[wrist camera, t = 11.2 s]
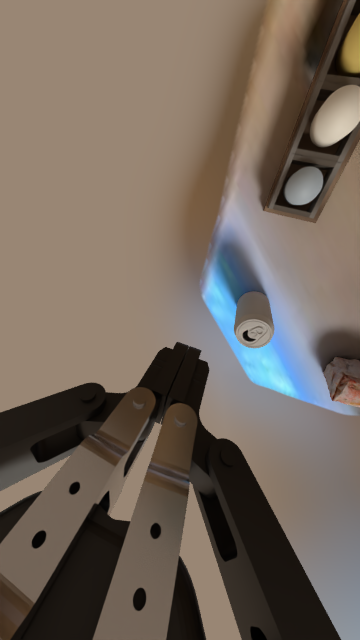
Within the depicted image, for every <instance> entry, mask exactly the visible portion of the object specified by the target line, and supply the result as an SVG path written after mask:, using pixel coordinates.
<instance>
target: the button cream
mask: <svg viewBox="0 0 360 640" xmlns="http://www.w3.org/2000/svg"><path fill="white" fill-rule="evenodd" d="M359 121H360V87H359V86H357V85H346V86H343V87H341V88H339V89H338V90H336V91H335V92H333V93H332V94H331V95H330V96H329V97H328V98H327V100H326V101H325V102H324V104H323V105H322V106H321V108H320V109H319V111H318V112H317V113H316V115H315V117H314V118H313V121H312V123H311V126H310V138H311V141H312V142H313V144H314V145H316V146H318V147H328V146H331V145H333V144H335V143H336V142H338V141H339V140H340V139H342V138H343V137H345V136H346V135H347V134H349V133H350V132H351V131H352V130H353V129H354V128H355V127H356V126H357V124H358V123H359Z"/></svg>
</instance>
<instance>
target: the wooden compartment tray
mask: <svg viewBox="0 0 360 640" xmlns="http://www.w3.org/2000/svg"><path fill="white" fill-rule="evenodd" d="M359 13H360V0H344V1H343V3H342V5H341V8H340V10H339V12H338V15H337V17H336V20H335V23H334V25H333V28H332V30H331V33H330V36H329V38H328V41H327V44H326V46H325V49H324V52H323V54H322V57H321V60H320V62H319V65H318V67H317V70H316V73H315V75H314V78H313V81H312V83H311V86H310V89H309V91H308V94H307V97H306V99H305V102H304V105H303V107H302V110H301V112H300V115H299V118H298V120H297V123H296V126H295V128H294V131H293V134H292V136H291V139H290V142H289V144H288V147H287V150H286V152H285V155H284V157H283V160H282V163H281V165H280V168H279V171H278V173H277V176H276V179H275V181H274V184H273V187H272V189H271V192H270V195H269V197H268V200H267V202H266V205H265V208H264V210H263V211H266V212H271V213H275V214H279V215H283V216H288V217H292V218H296V219H301V220H305V221H309V222H313V223H316V221H317V219H318V218H319V216H320V214H321V212H322V210H323V208H324V206H325V204H326V202H327V200H328V199H329V197H330V195H331V193H332V191H333V189H334V187H335V185H336V183H337V181H338V180H339V178H340V176H341V174H342V172H343V170H344V168H345V166H346V164H347V162H348V161H349V159H350V157H351V155H352V153H353V151H354V149H355V147H356V145H357V143H358V142H359V140H360V121H359V123H358V124H357V126H356V127H355V128H354V129H353V130H352V131H351V132H350V133H349V134H347V135H346V136H345V137H343V138H342V139H340V140H339V141H338V142H336V143H335V144H333V145H331V146H328V147H318V146H316V145H314V144H313V142H312V141H311V138H310V126H311V123H312V121H313V118H314V117H315V115H316V113H317V112H318V111H319V109H320V108H321V106H322V105H323V104H324V102H325V101H326V100H327V98H328V97H329V96H330V95H331V94H332V93H333V92H335V91H336V90H338V89H339V88H341V87H343V86H346V85H357V86H359V87H360V77H358V78H355V77H346V76H339V74H338V73H337V69H336V59H337V54H338V51H339V49H340V46H341V45H342V43H343V41H344V39H345V37H346V36H347V34H348V32H349V30H350V28H351V27H352V25H353V23H354V21H355V20H356V18H357V16H358V15H359ZM304 167H316V168H317V169H319V170H320V171H321V173H322V175H323V185H322V188H321V190H320V192H319V194H318V195H317V196H316V197H315V198H314V199H313V200H312V201H310V202H309V203H306V204H303V205H292V204H289V203H287V202H286V201H285V199H284V196H283V188H284V185H285V183H286V181H287V180H288V179H289V177H290V176H291V175H293V174H294V173H295V172H297V171H298V170H300V169H302V168H304Z"/></svg>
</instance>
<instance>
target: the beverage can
mask: <svg viewBox="0 0 360 640" xmlns="http://www.w3.org/2000/svg"><path fill="white" fill-rule="evenodd" d="M234 333H235V335H236V337H237V340H238V341H239V342H240V343H241V344H242V345H244V346H246V347H249V348H260V347H263V346H265V345H267V344H268V343H269V342H270V340H271V339H272V336H273V334H274V325H273V319H272V314H271V309H270V304H269V300H268V298H267V297H266V296H265V295H264V294H263V293H260V292H256V291H251V292H247V293H245V294H243V295H242V296H241V297H240V298H239V300H238V303H237V310H236V317H235V325H234Z"/></svg>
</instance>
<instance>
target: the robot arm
mask: <svg viewBox="0 0 360 640" xmlns="http://www.w3.org/2000/svg"><path fill="white" fill-rule="evenodd" d="M188 348H189V349H188ZM200 353H201V350H199V349H196V348H193V347H191V346H190V347H189V346H188V345H185V344H182V343H180V342H177V343H176V344H175V346H174V349H170V348H167V347H165V348H163V349H162V350H160V351H159V352H158V353H157V355H156V357H155V359H154V360H153V361H152V363H151V365H150V366H149V368H148V369H147V371H146V373H145V374H144V376H143V378H142V379H141V381H140V382H139V384H138V386H136V387H135V388H133V389H131V390H130V391H129V392H127V393H107V392H105V389H104V388H103V386H101V385H100V384H97V383H86V384H83V385H80V386H77V387H74V388H71V389H68V390H65V391H62V392H59V393H56V394H53V395H51V396H48V397H45V398H42V399H39V400H36V401H33V402H30V403H27V404H25V405H21V406H19V407H15V408H13V409H10V410H7V411H4V412H1V413H0V491H1V490H3V489H5V488H7V487H9V486H11V485H13V484H15V483H17V482H19V481H21V480H23V479H25V478H27V477H29V476H31V475H33V474H35V473H37V472H39V471H41V470H42V469H45V468H46V467H48V466H50V465H52V464H54V463H56V462H58V461H60V460H62V459H64V458H66V457H68V456H70V455H71V456H70V457H69V459H68V460H67V461H66V462H65V464H64V465H63V466H62V467H61V469H60V470H59V471H58V472H57V474H56V475H55V476H54V477H53V479H52V480H51V481H50V482H49V484H48V485H47V486H46V487H45V489H44V490H43V491H40V492H37V493H35V494H33V495H30V496H28V497H26V498H24V499H22V500H20V501H19V502H17V503H15V504H14V505H12V506H10V507H8V508H7V509H5V510H3V511H2V512H0V640H206V637H205V632H204V628H203V624H202V619H201V614H200V610H199V605H198V601H197V597H196V593H195V589H194V586H193V583H192V580H191V577H190V575H189V573H188V570H187V568H186V566H185V564H184V562H183V560H182V559H181V557H180V556H179V553H180V546H181V540H182V533H183V526H184V520H185V513H186V507H187V501H188V494H189V481H190V482H191V483H192V484H193V488H194V491H195V495H196V498H197V501H198V504H199V507H200V510H201V513H202V517H203V520H204V523H205V526H206V529H207V532H208V535H209V538H210V541H211V544H212V548H213V551H214V554H215V557H216V560H217V563H218V566H219V569H220V573H221V576H222V579H223V582H224V585H225V588H226V591H227V595H228V598H229V601H230V604H231V607H232V610H233V613H234V616H235V620H236V623H237V626H238V629H239V632H240V635H241V638H242V640H341V639H340V637H339V635H338V633H337V631H336V629H335V627H334V625H333V624H332V622H331V620H330V618H329V616H328V614H327V613H326V610H325V609H324V607H323V605H322V603H321V601H320V600H319V597H318V595H317V593H316V592H315V590H314V588H313V586H312V584H311V582H310V580H309V578H308V576H307V575H306V573H305V571H304V569H303V567H302V565H301V563H300V561H299V560H298V558H297V556H296V554H295V552H294V550H293V548H292V546H291V544H290V542H289V541H288V539H287V537H286V535H285V533H284V531H283V529H282V527H281V525H280V524H279V522H278V520H277V518H276V516H275V514H274V512H273V510H272V509H271V507H270V505H269V503H268V501H267V499H266V497H265V495H264V493H263V492H262V490H261V488H260V486H259V484H258V482H257V480H256V478H255V477H254V474H253V473H252V471H251V469H250V467H249V465H248V463H247V461H246V459H245V458H244V456H243V454H242V452H241V450H240V449H239V447H238V446H237V445H236V444H235V443H233V442H232V441H230V440H228V439H216V438H215V437H214V436H213V435H212V434H211V433H210V432H208V431H207V430H206V429H205V428H204V426H203V425H202V423H201V421H200V417H199V409H200V405H201V401H202V397H203V393H204V389H205V385H206V381H207V377H208V373H209V367H208V363H207V362H205V361H203V360H200V359H199V356H200ZM162 417H163V418H162ZM161 419H162V421H161ZM160 421H161V424H162V427H161V430H160V433H159V436H158V439H157V442H156V445H155V449H154V452H153V455H152V458H151V461H150V464H149V466H148V469H147V472H146V475H145V478H144V482H143V484H142V487H141V491H140V494H139V497H138V500H137V503H136V506H135V509H134V513H133V516H132V519H131V521H122V520H115V519H112V518H111V517H110V516H109V515H110V513H111V511H112V509H113V507H114V505H115V503H116V501H117V499H118V497H119V495H120V493H121V491H122V488H123V486H124V483H125V481H126V479H127V477H128V475H129V473H130V471H131V469H132V467H133V465H134V463H135V461H136V459H137V458H138V456H139V454H140V452H141V450H142V448H143V446H144V444H145V442H146V441H147V439H148V436H149V434H150V432H151V430H152V428H153V426H154V423H155V422H157V423H160Z"/></svg>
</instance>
